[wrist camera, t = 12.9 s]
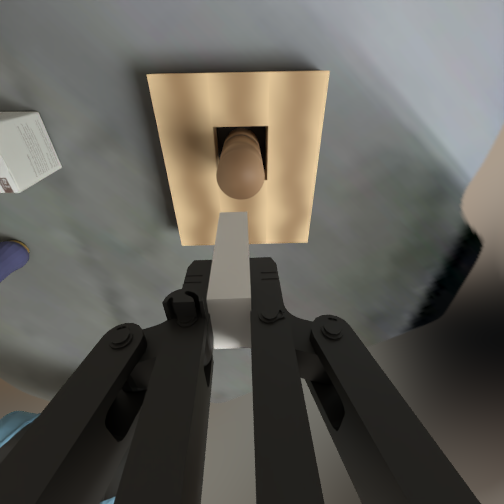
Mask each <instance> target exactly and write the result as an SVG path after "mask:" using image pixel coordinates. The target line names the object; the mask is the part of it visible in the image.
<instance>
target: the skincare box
mask: <svg viewBox="0 0 504 504" xmlns="http://www.w3.org/2000/svg"><path fill="white" fill-rule="evenodd" d="M60 168H62V166H61V164H60V161H59V159H58V157H57V154H56V152H55V150H54V147H53V145H52V143H51V140H50V138H49V136H48V133H47V131H46V129H45V126H44V124H43V122H42V119H41V117H40V115H39V113H38V112H0V193H20V192H22V191H24V190H26V189H27V188H29V187H30V186H32V185H34V184H35V183H37V182H39V181H40V180H42V179H44V178H45V177H47V176H49V175H50V174H52V173H54V172H55V171H57V170H59V169H60Z"/></svg>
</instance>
